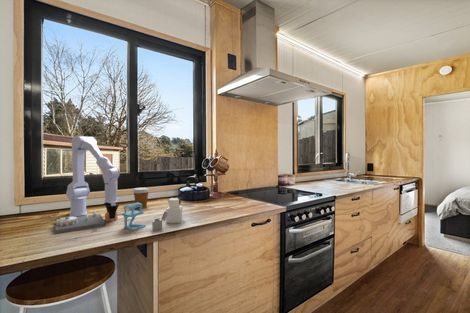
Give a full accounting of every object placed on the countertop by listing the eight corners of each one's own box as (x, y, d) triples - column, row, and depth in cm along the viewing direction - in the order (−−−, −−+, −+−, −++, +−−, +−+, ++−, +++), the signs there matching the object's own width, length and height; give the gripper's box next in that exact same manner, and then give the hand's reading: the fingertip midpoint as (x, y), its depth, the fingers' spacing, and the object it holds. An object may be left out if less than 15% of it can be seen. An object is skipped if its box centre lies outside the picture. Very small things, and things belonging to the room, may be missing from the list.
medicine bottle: (168, 218, 125) (168, 196, 125) (182, 218, 126) (182, 196, 126) (166, 223, 118) (166, 199, 118) (180, 223, 119) (180, 199, 119)
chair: (133, 224, 117) (133, 200, 116) (145, 226, 113) (145, 201, 113) (119, 228, 110) (119, 203, 109) (132, 231, 106) (132, 205, 106)
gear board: (56, 222, 117) (56, 214, 116) (100, 216, 128) (100, 208, 128) (55, 233, 102) (55, 223, 102) (105, 225, 113) (105, 216, 113)
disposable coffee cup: (140, 210, 142) (140, 190, 142) (129, 208, 147) (129, 189, 146) (152, 206, 151) (152, 188, 151) (141, 204, 155) (141, 186, 155)
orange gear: (104, 219, 123) (104, 212, 123) (116, 217, 127) (116, 211, 127) (105, 221, 119) (105, 215, 119) (118, 220, 122) (118, 213, 122)
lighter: (153, 230, 107) (153, 213, 107) (152, 229, 109) (152, 212, 108) (168, 228, 111) (168, 211, 111) (167, 227, 113) (167, 210, 112)
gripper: (122, 192, 119) (122, 219, 119) (117, 188, 131) (117, 212, 131) (106, 193, 115) (106, 221, 115) (102, 189, 126) (102, 214, 127)
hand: (111, 216), depth 123 cm, fingers closed on orange gear, 6 cm apart
